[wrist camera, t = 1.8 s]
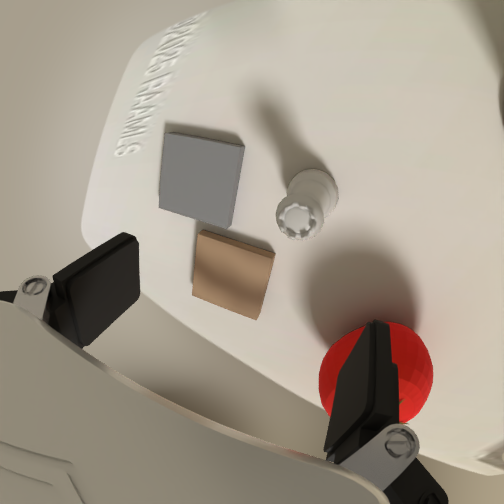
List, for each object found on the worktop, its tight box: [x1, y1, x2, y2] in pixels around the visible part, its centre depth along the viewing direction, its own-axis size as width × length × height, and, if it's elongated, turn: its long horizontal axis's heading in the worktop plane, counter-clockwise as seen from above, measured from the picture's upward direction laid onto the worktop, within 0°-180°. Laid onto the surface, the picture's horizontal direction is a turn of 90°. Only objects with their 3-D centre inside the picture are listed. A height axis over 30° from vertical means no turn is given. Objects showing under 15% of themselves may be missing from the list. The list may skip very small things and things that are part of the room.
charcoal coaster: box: [159, 132, 245, 229], centre depth 28 cm, size 8×8×1 cm
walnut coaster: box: [192, 230, 275, 320], centre depth 31 cm, size 8×8×1 cm
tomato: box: [319, 322, 433, 424], centre depth 25 cm, size 12×12×10 cm
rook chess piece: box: [276, 169, 339, 240], centre depth 22 cm, size 4×4×8 cm
